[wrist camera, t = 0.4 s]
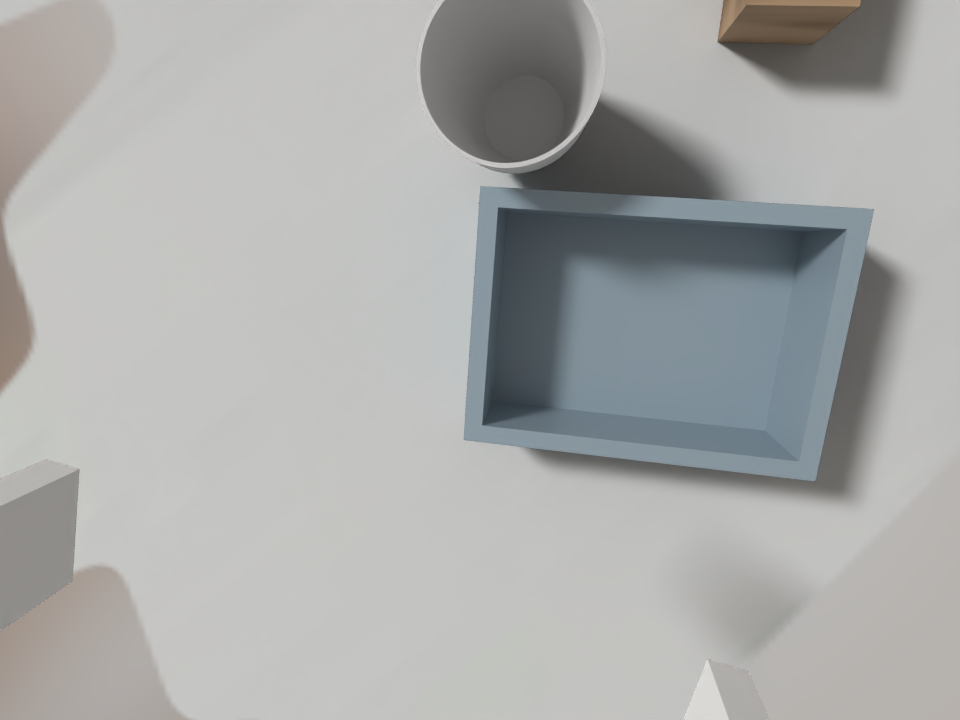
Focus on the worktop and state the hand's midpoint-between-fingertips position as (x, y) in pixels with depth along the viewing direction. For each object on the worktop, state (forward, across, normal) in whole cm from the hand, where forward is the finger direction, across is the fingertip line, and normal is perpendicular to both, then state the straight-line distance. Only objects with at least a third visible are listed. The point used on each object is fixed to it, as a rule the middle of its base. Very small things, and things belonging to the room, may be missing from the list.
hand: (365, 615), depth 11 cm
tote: (+26, +8, +4) cm, 27 cm away
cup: (+26, -2, +14) cm, 30 cm away
